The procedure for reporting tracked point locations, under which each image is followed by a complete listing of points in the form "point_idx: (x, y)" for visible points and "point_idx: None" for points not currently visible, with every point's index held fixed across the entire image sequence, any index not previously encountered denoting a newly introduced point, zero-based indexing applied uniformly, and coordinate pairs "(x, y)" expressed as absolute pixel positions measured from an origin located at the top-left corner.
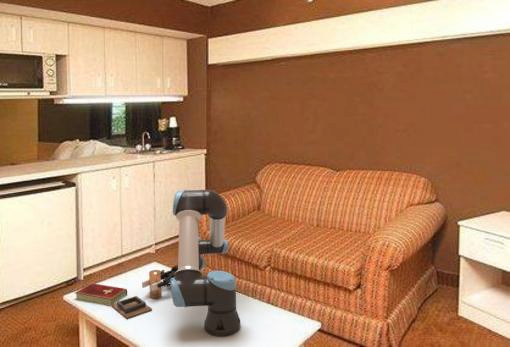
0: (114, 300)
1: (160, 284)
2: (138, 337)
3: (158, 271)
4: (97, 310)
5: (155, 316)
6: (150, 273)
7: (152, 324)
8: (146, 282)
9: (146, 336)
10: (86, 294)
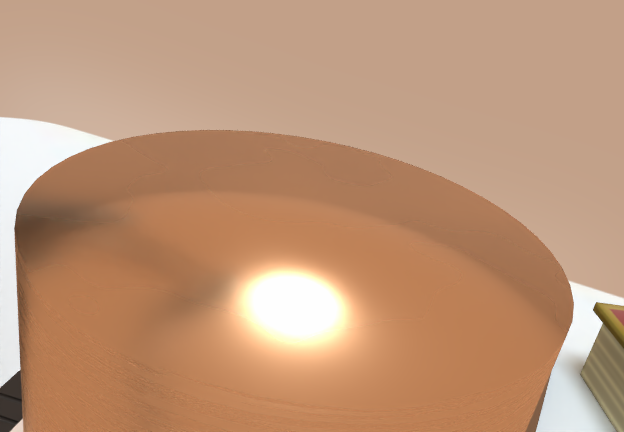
0: (616, 383)
1: (6, 382)
2: (76, 137)
3: (165, 253)
4: (580, 303)
5: (14, 267)
6: (378, 161)
7: (16, 200)
8: None
9: (28, 139)
10: None
